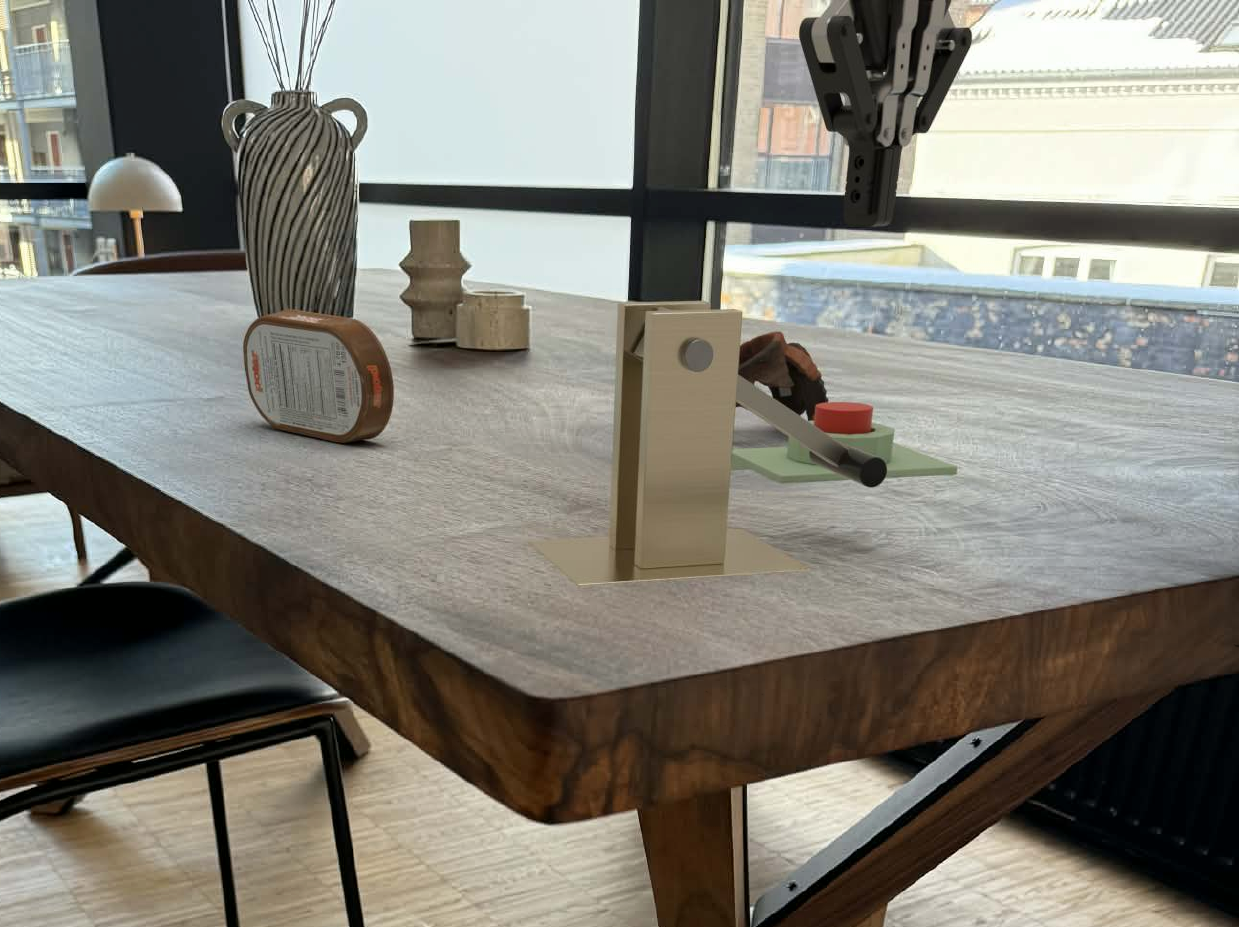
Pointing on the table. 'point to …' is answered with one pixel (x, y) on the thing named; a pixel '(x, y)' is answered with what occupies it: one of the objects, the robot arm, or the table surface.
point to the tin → (318, 375)
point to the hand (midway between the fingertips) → (867, 224)
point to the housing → (799, 468)
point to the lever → (806, 434)
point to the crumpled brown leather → (783, 372)
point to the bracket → (671, 456)
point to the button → (843, 417)
